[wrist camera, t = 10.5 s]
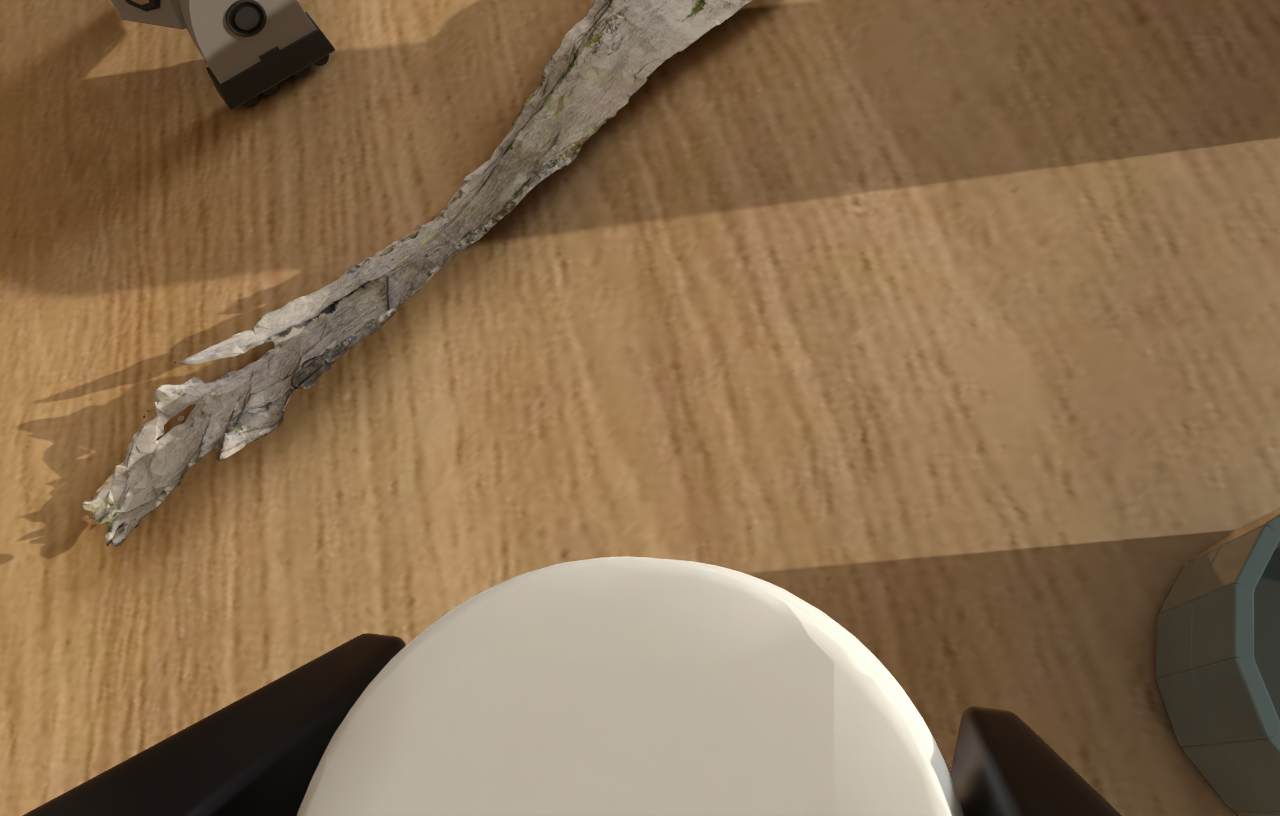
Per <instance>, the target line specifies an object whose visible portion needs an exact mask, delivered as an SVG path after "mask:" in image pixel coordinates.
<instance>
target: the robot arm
mask: <svg viewBox="0 0 1280 816" xmlns="http://www.w3.org/2000/svg"><path fill="white" fill-rule="evenodd" d="M405 646H406V644H405V642H404V641H403V640H402V639H401V638H399V637H395V636H386V635H378V634H362V635H360V636H357V637H356V638H354V639H352V640H350V641H348V642H346V643H344V644H342V645H341V646H339V647H337V648H335V649H333V650H331V651H329V652H328V653H326V654H324V655H322V656H320V657H318V658H316V659H314V660H313V661H311V662H309V663H307V664H305V665H303V666H301V667H299V668H298V669H296V670H294V671H292V672H290V673H288V674H286V675H285V676H283V677H281V678H279V679H277V680H275V681H273V682H271V683H270V684H268V685H266V686H264V687H262V688H260V689H258V690H257V691H255V692H253V693H251V694H249V695H247V696H245V697H243V698H242V699H240V700H238V701H236V702H234V703H232V704H230V705H229V706H227V707H225V708H223V709H221V710H219V711H217V712H215V713H214V714H212V715H210V716H208V717H206V718H204V719H202V720H200V721H199V722H197V723H195V724H193V725H191V726H189V727H187V728H186V729H184V730H182V731H180V732H178V733H176V734H174V735H172V736H171V737H169V738H167V739H165V740H163V741H161V742H159V743H158V744H156V745H154V746H152V747H150V748H148V749H146V750H144V751H143V752H141V753H139V754H137V755H135V756H133V757H131V758H129V759H128V760H126V761H124V762H122V763H120V764H118V765H116V766H114V767H113V768H111V769H109V770H107V771H105V772H103V773H101V774H100V775H98V776H96V777H94V778H92V779H90V780H88V781H86V782H85V783H83V784H81V785H79V786H77V787H75V788H73V789H71V790H70V791H68V792H66V793H64V794H62V795H60V796H58V797H56V798H55V799H53V800H51V801H49V802H47V803H45V804H43V805H42V806H40V807H38V808H36V809H34V810H32V811H30V812H28V813H27V814H25V815H23V816H297V814H298V811H299V808H300V806H301V804H302V801H303V799H304V796H305V794H306V792H307V789H308V787H309V784H310V782H311V780H312V777H313V775H314V773H315V771H316V769H317V767H318V765H319V763H320V760H321V758H322V756H323V754H324V752H325V750H326V748H327V746H328V745H329V743H330V741H331V739H332V737H333V735H334V733H335V732H336V730H337V729H338V727H339V726H340V725H341V723H342V721H343V720H344V718H345V717H346V715H347V714H348V712H349V711H350V709H351V708H352V707H353V705H354V704H355V702H356V701H357V700H358V698H359V697H360V696H361V694H362V693H363V692H364V690H365V689H366V688H367V686H368V685H369V684H370V683H371V681H372V680H373V679H374V678H375V677H376V676H377V675H378V674H379V673H380V671H381V670H382V669H383V668H384V667H385V666H386V665H387V664H388V662H389V661H390V660H391V659H392V658H393V657H394V656H395V655H397V654H398V653H399V652H400V651H401V650H402V649H403V648H404V647H405ZM950 776H951V778H952V781H953V784H954V787H955V789H956V792H957V795H958V798H959V801H960V804H961V807H962V810H963V813H964V816H1121V815H1120V814H1119V813H1118V812H1117V811H1116V810H1115V809H1114V808H1113V807H1112V806H1111V805H1110V804H1109V803H1108V802H1107V801H1106V800H1105V799H1104V798H1103V797H1101V796H1100V795H1099V794H1098V793H1097V792H1096V791H1095V790H1094V789H1093V788H1092V787H1091V786H1090V785H1089V784H1088V783H1087V782H1086V781H1085V780H1084V779H1083V778H1082V777H1081V776H1080V775H1079V774H1078V773H1076V772H1075V771H1074V770H1073V769H1072V768H1071V767H1070V766H1069V765H1068V764H1067V763H1066V762H1065V761H1064V760H1063V759H1062V758H1061V757H1060V756H1059V755H1058V754H1057V753H1056V752H1055V751H1054V750H1053V749H1051V748H1050V747H1049V746H1048V745H1047V744H1046V743H1045V742H1044V741H1043V740H1042V739H1041V738H1040V737H1039V736H1038V735H1037V734H1036V733H1035V732H1034V731H1033V730H1032V729H1031V728H1030V727H1029V726H1027V725H1026V724H1025V723H1024V722H1023V721H1022V720H1021V719H1020V718H1019V717H1018V716H1017V715H1015V714H1014V713H1012V712H1010V711H1006V710H997V709H989V708H981V707H970V708H968V709H966V710H965V712H964V713H963V716H962V719H961V723H960V728H959V733H958V738H957V743H956V749H955V754H954V759H953V764H952V769H951V775H950Z"/></svg>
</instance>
